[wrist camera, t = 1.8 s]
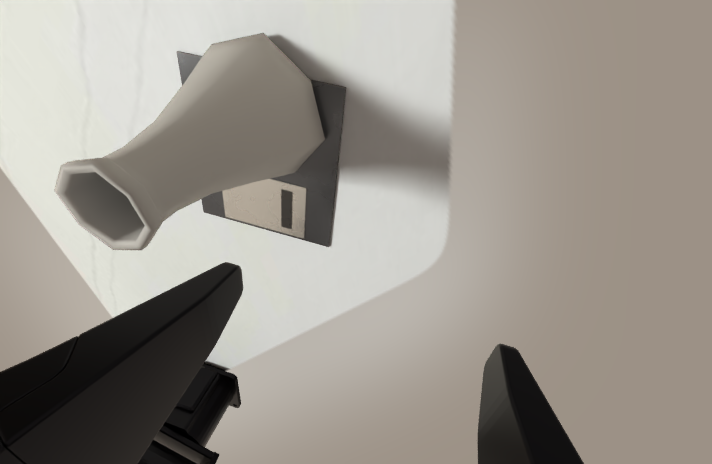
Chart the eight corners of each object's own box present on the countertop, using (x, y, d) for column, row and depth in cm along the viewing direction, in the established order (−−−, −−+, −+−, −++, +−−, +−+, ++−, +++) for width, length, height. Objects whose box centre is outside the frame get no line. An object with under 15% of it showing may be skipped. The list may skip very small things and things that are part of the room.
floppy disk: (329, 246, 23) (328, 248, 23) (204, 211, 24) (202, 213, 24) (345, 87, 17) (344, 88, 17) (177, 51, 18) (175, 51, 18)
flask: (349, 146, 18) (256, 273, 10) (252, 190, 22) (127, 311, 14) (269, -1, 15) (56, 25, 8) (170, 78, 19) (-45, 151, 11)
